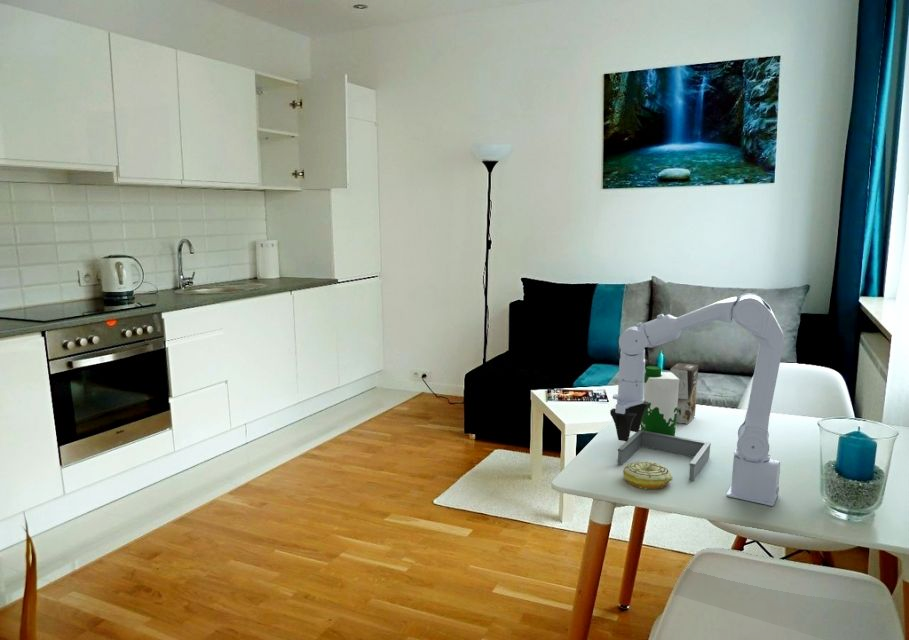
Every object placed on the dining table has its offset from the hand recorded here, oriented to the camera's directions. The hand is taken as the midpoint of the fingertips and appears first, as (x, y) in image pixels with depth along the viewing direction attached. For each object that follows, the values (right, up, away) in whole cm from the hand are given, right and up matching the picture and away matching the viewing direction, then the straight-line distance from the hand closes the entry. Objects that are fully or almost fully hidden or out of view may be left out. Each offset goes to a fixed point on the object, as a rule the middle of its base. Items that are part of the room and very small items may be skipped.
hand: (628, 435), depth 159 cm
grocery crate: (+11, -8, +10) cm, 17 cm away
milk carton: (+15, -6, +26) cm, 31 cm away
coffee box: (+27, -3, +44) cm, 52 cm away
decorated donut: (+4, -11, -2) cm, 11 cm away
